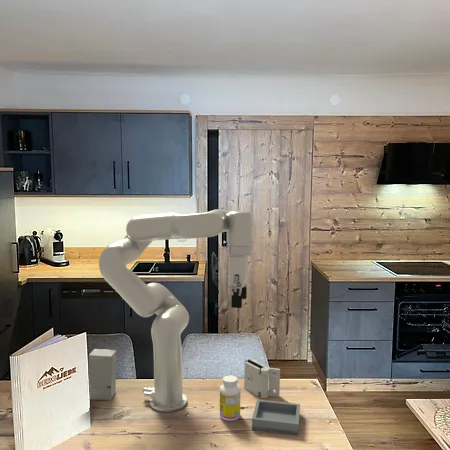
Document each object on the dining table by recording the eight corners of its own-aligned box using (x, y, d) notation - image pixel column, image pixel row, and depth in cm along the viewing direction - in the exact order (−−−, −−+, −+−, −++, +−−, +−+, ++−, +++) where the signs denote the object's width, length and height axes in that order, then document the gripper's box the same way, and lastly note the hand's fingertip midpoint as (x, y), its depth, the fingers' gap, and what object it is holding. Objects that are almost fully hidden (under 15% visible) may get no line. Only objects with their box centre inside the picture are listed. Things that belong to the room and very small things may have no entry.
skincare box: (87, 400, 156) (86, 356, 154) (94, 390, 163) (92, 347, 161) (112, 400, 156) (111, 356, 154) (117, 390, 163) (116, 348, 161)
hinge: (280, 396, 160) (280, 369, 158) (271, 402, 156) (272, 374, 154) (248, 384, 168) (248, 358, 167) (239, 389, 164) (239, 363, 163)
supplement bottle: (220, 410, 150) (220, 373, 148) (240, 411, 150) (240, 373, 148) (219, 421, 143) (219, 383, 142) (240, 422, 143) (240, 383, 141)
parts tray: (251, 429, 139) (252, 418, 139) (256, 409, 151) (257, 399, 150) (298, 435, 136) (298, 424, 136) (299, 414, 148) (300, 404, 148)
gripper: (232, 245, 152) (232, 295, 154) (222, 254, 136) (222, 310, 138) (255, 246, 151) (254, 296, 153) (247, 255, 134) (246, 312, 136)
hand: (239, 302), depth 145 cm, fingers open, 9 cm apart
